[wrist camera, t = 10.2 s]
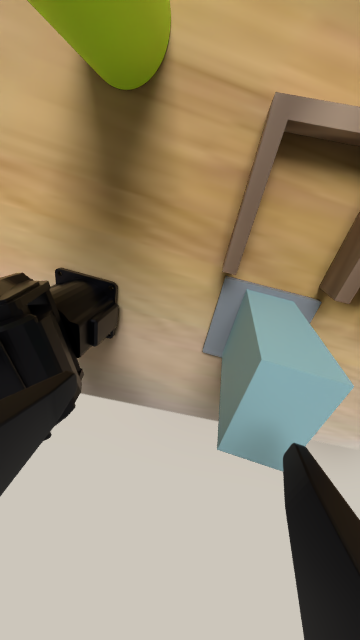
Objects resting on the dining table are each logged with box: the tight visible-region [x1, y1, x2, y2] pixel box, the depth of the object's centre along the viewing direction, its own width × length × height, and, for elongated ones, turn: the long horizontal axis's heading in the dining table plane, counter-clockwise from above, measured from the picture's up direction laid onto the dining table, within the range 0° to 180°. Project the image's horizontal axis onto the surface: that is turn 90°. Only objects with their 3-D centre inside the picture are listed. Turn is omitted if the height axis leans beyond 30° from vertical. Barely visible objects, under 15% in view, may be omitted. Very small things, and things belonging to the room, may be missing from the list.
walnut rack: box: [222, 92, 360, 304], centre depth 14 cm, size 14×10×3 cm
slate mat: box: [202, 276, 322, 358], centre depth 20 cm, size 8×8×1 cm
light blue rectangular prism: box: [217, 289, 354, 471], centre depth 15 cm, size 4×7×10 cm, turn 169°
